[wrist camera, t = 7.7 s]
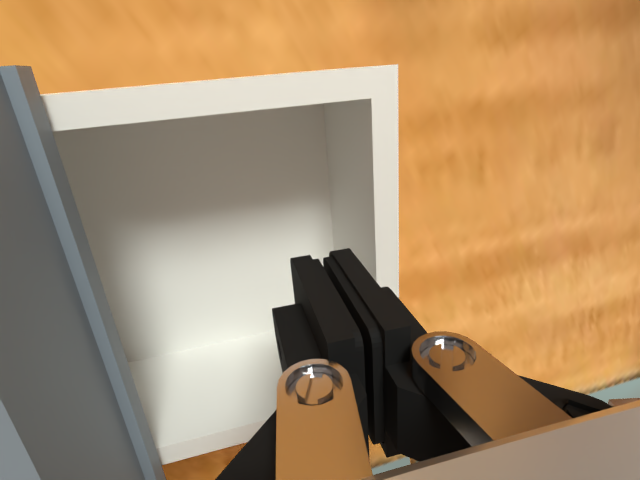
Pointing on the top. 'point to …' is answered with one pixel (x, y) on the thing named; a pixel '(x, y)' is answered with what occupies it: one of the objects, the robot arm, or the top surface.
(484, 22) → the top surface
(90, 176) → the white open box
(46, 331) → the mailer lid
